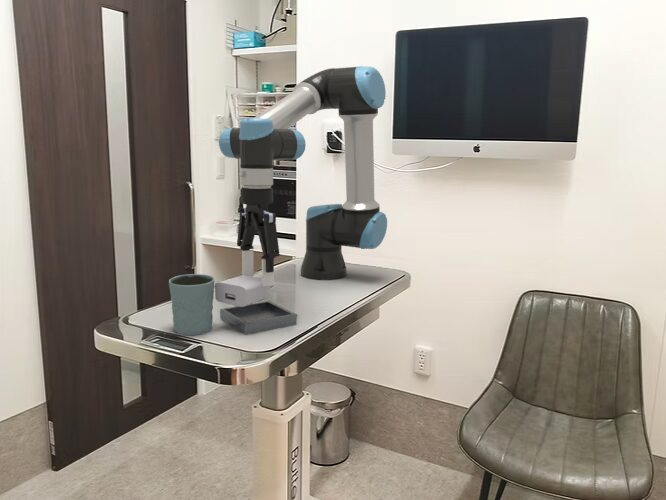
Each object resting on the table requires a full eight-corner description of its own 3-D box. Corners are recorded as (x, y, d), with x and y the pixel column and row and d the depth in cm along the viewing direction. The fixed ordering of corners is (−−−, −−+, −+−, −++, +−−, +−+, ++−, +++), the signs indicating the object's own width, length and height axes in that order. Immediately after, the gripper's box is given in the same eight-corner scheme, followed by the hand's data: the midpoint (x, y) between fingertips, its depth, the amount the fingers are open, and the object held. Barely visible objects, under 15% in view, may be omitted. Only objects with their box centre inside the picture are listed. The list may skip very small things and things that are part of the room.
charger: (285, 293, 136) (246, 307, 124) (256, 287, 141) (215, 301, 128) (285, 274, 135) (245, 287, 123) (256, 269, 140) (214, 281, 127)
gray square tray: (269, 310, 143) (269, 300, 143) (296, 324, 133) (296, 314, 132) (220, 318, 136) (220, 309, 135) (245, 334, 125) (245, 324, 124)
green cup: (207, 320, 135) (205, 272, 132) (222, 332, 126) (221, 281, 124) (165, 326, 129) (163, 277, 127) (178, 340, 121) (176, 286, 119)
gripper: (221, 183, 135) (223, 273, 139) (265, 191, 117) (265, 293, 121) (249, 183, 139) (250, 269, 143) (295, 190, 121) (295, 288, 125)
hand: (257, 280), depth 132 cm, fingers closed on charger, 9 cm apart
